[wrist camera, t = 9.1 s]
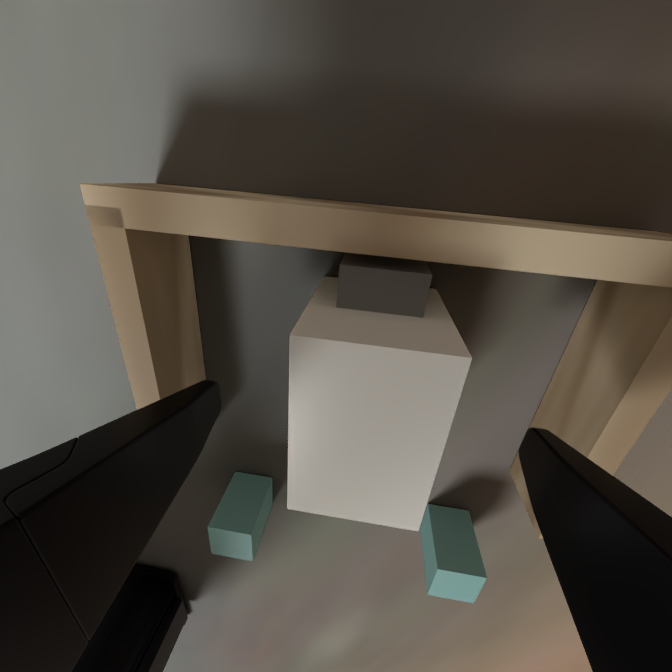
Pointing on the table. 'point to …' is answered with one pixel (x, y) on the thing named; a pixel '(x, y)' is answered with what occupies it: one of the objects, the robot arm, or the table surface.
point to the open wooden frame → (408, 243)
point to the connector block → (372, 392)
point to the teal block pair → (436, 532)
